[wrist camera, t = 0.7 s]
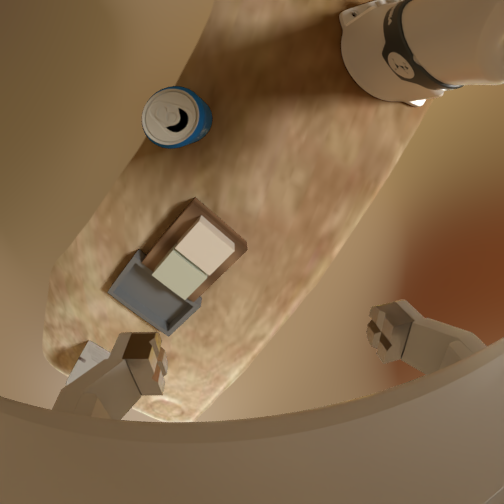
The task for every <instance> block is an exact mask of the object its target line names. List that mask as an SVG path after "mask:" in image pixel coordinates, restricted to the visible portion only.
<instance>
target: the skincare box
mask: <svg viewBox="0 0 504 504" xmlns="http://www.w3.org/2000/svg"><path fill="white" fill-rule="evenodd" d="M110 354H111V353H110V352H108V351H106V350H105V349H103V348H101V347H100V346H98V345H96V344H94V343H93V342H91V341H88V342H87V344H86V346H85V348H84V349H83V351H82V353H81V355H80V357H79V358H78V360H77V362H76V364H75V366H74V368H73V370H72V372H71V373H70V375H69V377H68V379H67V382H66V386H67V385H68V384H70V383H71V382H73V381H74V380H76V379H77V378H78V377H80V376H81V375H83V374H84V373H86V372H87V371H88V370H90V369H91V368H93V367H94V366H96V365H97V364H98V363H100V362H101V361H103V360H104V359H108V358H109V356H110Z"/></svg>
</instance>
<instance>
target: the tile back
mask: <svg viewBox="0 0 504 504" xmlns="http://www.w3.org/2000/svg"><path fill="white" fill-rule="evenodd" d="M176 245H177V244H175V245H174V246H173V247H172V248H171V250H170V251H169V252H168V253H167V254H166V255H165V257H164V258H163V259H162V260H161V261H160V262H159V264H158V265H157V266H156V267H155V269H154V271H153V273H152V276H153V277H155V278H156V279H157V280H159V281H160V282H161V283H163V284H164V285H165V286H167V287H168V288H169V289H171V290H172V291H173V292H175V293H176V294H177V295H179V296H180V297H181V298H183V299H184V300H186V299H187V298H188V297H189V296H190V295H191V294H192V293H193V292H194V291H195V290H196V289H197V288H198V287H199V286H200V285H201V284H202V283H203V282H204V281H205V280H206V279H207V276H208V274H207V273H205V272H204V271H203V270H201V269H200V268H199V267H198V266H196V265H195V264H194V263H193V262H191V261H190V260H189V259H188V258H186V257H185V256H184V255H183V254H181V253H180V252H179V251H178V250H176V249H175V247H176Z"/></svg>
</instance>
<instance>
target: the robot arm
mask: <svg viewBox="0 0 504 504" xmlns="http://www.w3.org/2000/svg"><path fill="white" fill-rule="evenodd" d="M352 14H354V15H355V17H354V16H353V15H352ZM339 19H340V23H341V26H342V29H343V34H342V40H341V52H342V57H343V61H344V63H345V66H346V68H347V70H348V72H349V73H350V75H351V76H352V78H353V79H354V80H355V82H356V83H357V84H358V85H359V86H360V87H361V88H362V89H364V90H365V91H366V92H368V93H369V94H371V95H372V96H374V97H376V98H379V99H381V100H385V101H401V102H405V103H407V104H409V105H411V106H414V107H419V106H422V105H423V104H424V102H425V101H426V99H430V98H436V97H441V96H442V95H443V92H444V91H445V90H453V89H457V88H460V87H462V86H464V85H500V84H503V83H504V0H375V1H372V2H368V3H365V4H362V5H359V6H356V7H353V8H350V9H347V10H345V11H343V12H341V13H340V14H339ZM369 316H370V318H371V319H372V320H371V321H370V323H369V324H368V325H367V338H368V341H369V343H370V345H371V346H372V347H374V348H376V349H377V353H376V354H377V355H378V357H379V358H380V359H381V361H382V362H383V363H384V364H385V363H389V362H392V361H396V360H400V359H401V360H402V361H404V362H406V363H407V364H409V365H411V366H412V367H414V368H416V369H418V370H419V371H421V372H423V373H425V374H426V375H425V376H422V377H420V378H417V379H415V380H412V381H409V382H407V383H404V384H401V385H398V386H395V387H392V388H389V389H386V390H383V391H380V392H377V393H373V394H370V395H366V396H363V397H359V398H355V399H352V400H348V401H344V402H340V403H336V404H331V405H327V406H323V407H318V408H313V409H308V410H303V411H298V412H292V413H286V414H280V415H273V416H266V417H258V418H250V419H239V420H227V421H212V422H141V421H125V420H121V419H122V417H123V416H124V415H125V414H126V413H127V412H128V411H129V410H130V409H131V408H132V406H133V405H134V404H135V403H136V402H137V401H138V400H139V399H140V398H141V395H163V391H164V385H165V381H164V378H163V377H164V376H165V375H166V374H167V357H166V353H165V350H164V349H163V348H162V347H161V343H162V340H161V337H160V334H159V333H158V332H133V333H132V332H127V333H120V334H119V336H118V338H117V340H116V343H115V345H114V347H113V349H112V351H111V354H110V356H109V358H108V359H104V360H103V361H101V362H100V363H98V364H97V365H96V366H94V367H93V368H91V369H90V370H88V371H87V372H86V373H84V374H83V375H81V376H80V377H78V378H77V379H76V380H74V381H73V382H71V383H70V384H68V385H67V386H65V387H64V388H63V389H62V390H61V392H60V394H59V396H58V398H57V400H56V402H55V404H54V406H53V409H52V410H50V409H45V408H41V407H37V406H32V405H28V404H25V403H21V402H17V401H14V400H11V399H7V398H4V397H1V396H0V504H504V337H503V338H502V339H500V340H498V341H496V342H495V343H493V344H491V345H489V346H486V345H485V344H484V343H483V342H482V341H481V340H480V339H479V338H478V337H477V336H476V335H475V334H473V333H472V332H469V331H465V330H463V329H460V328H457V327H454V326H451V325H448V324H445V323H442V322H438V321H436V320H433V319H430V318H424V317H423V316H422V315H421V314H420V313H419V312H417V310H416V309H415V308H413V307H412V306H411V305H410V304H409V303H408V302H407V301H406V300H398V301H394V302H392V303H387V304H382V305H377V306H373V307H372V308H371V310H370V314H369Z"/></svg>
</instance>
